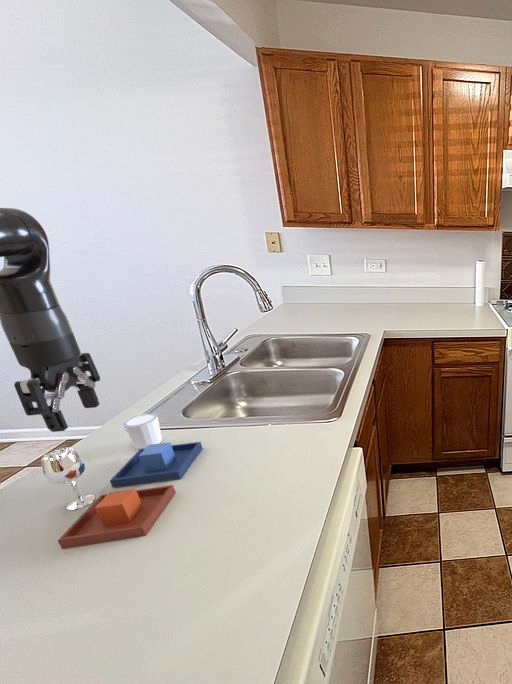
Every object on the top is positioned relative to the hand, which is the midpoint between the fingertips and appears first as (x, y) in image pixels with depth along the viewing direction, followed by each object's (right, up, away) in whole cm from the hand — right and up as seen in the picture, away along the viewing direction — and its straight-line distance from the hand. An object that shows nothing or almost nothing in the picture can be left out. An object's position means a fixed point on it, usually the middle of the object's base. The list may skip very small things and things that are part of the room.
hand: (76, 418), depth 73 cm
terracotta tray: (+4, -21, +5) cm, 22 cm away
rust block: (+4, -20, +5) cm, 21 cm away
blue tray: (-1, -15, +21) cm, 25 cm away
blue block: (-1, -14, +20) cm, 25 cm away
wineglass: (-9, -19, +10) cm, 23 cm away
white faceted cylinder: (-12, -11, +30) cm, 34 cm away
